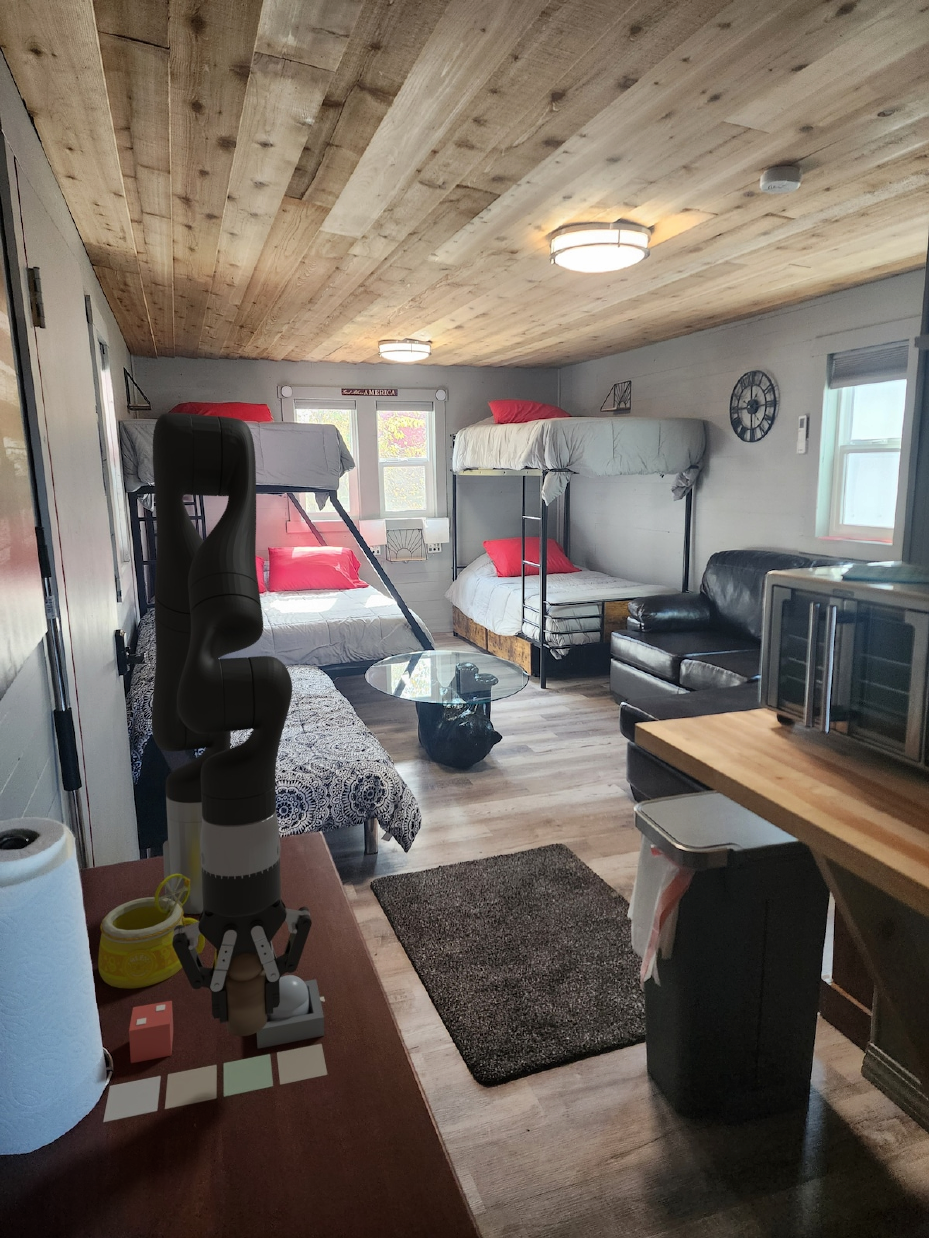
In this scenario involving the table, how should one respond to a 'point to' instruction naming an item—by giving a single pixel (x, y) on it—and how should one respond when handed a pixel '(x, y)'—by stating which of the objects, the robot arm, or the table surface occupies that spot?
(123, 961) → the mug
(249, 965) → the brown round-topped cylinder
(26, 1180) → the table surface
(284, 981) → the capsule
